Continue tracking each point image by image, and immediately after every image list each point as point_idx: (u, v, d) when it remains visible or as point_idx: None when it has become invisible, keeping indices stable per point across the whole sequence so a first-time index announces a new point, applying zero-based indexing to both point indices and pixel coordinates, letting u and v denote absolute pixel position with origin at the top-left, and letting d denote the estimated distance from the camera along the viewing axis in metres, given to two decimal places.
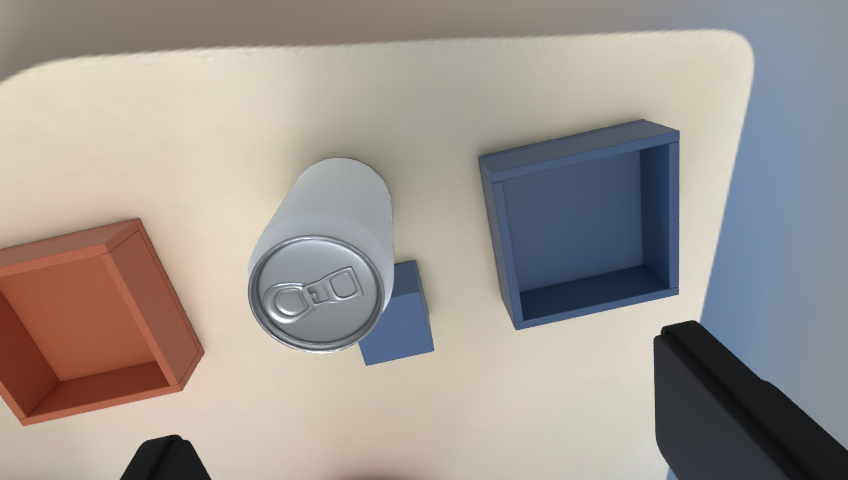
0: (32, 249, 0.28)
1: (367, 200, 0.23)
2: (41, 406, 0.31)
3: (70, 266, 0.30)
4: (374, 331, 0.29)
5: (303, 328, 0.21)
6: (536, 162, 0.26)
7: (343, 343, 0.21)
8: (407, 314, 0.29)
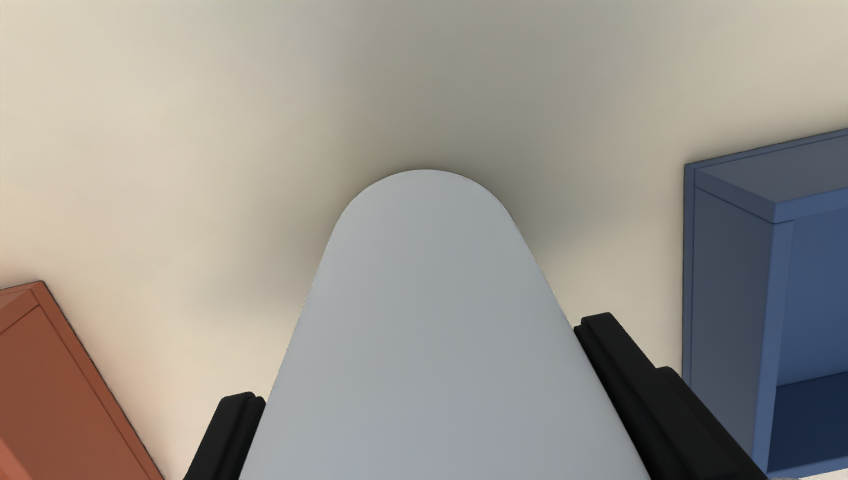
0: None
1: (540, 296, 0.09)
2: None
3: None
4: None
5: None
6: None
7: None
8: None
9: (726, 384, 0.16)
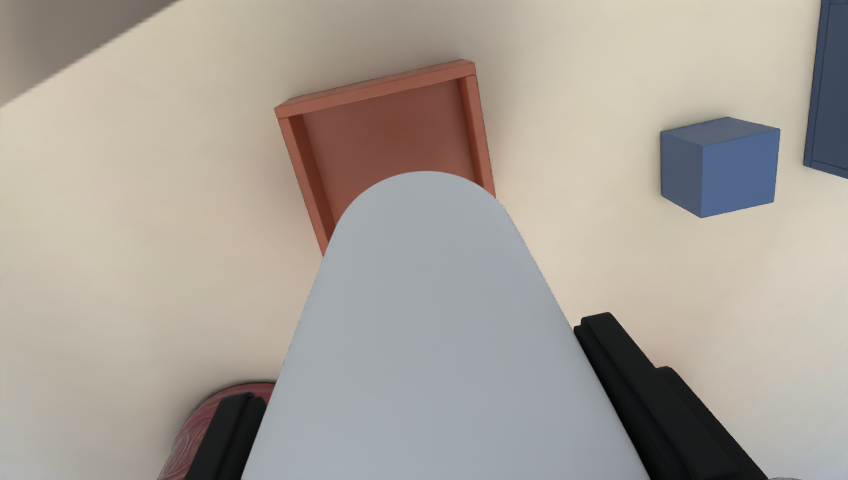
0: (368, 83, 0.27)
1: (541, 298, 0.09)
2: None
3: (386, 112, 0.29)
4: (722, 176, 0.28)
5: None
6: None
7: None
8: (761, 156, 0.27)
9: (844, 121, 0.29)
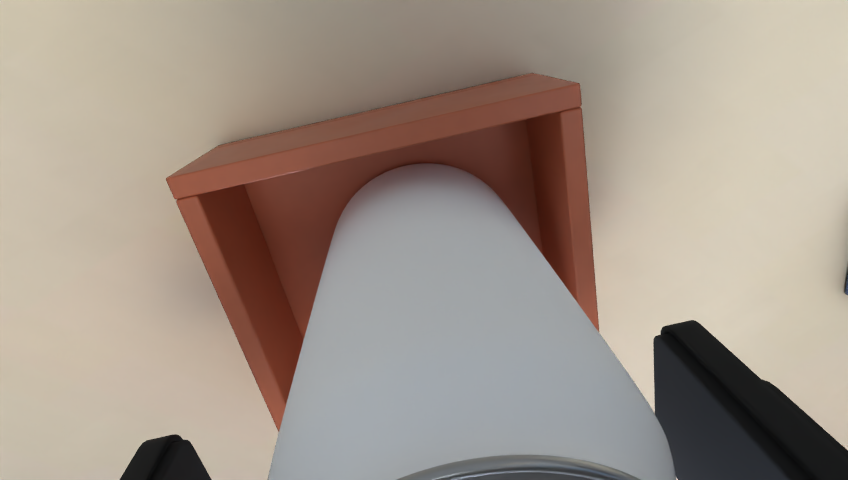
0: (361, 120, 0.14)
1: (546, 269, 0.10)
2: None
3: (394, 168, 0.16)
4: None
5: None
6: None
7: None
8: None
9: None
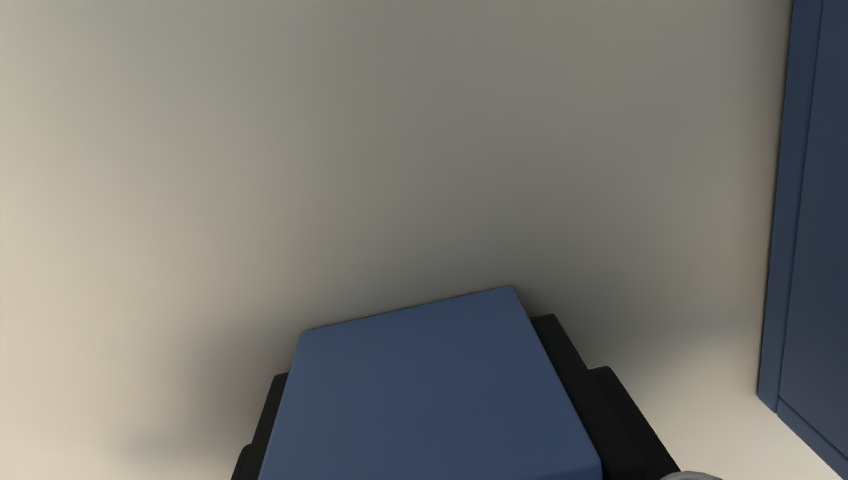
0: None
1: None
2: None
3: None
4: None
5: None
6: None
7: None
8: None
9: None
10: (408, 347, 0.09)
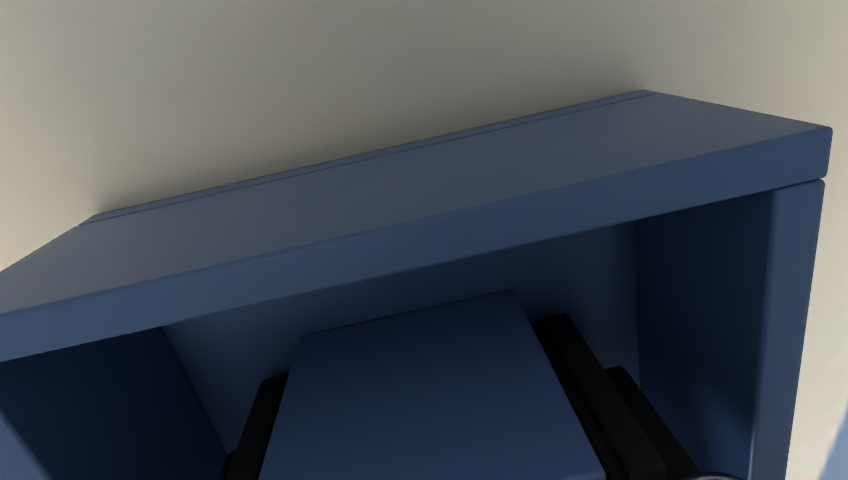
0: None
1: None
2: None
3: None
4: None
5: None
6: (117, 285, 0.05)
7: None
8: None
9: None
10: (408, 353, 0.08)
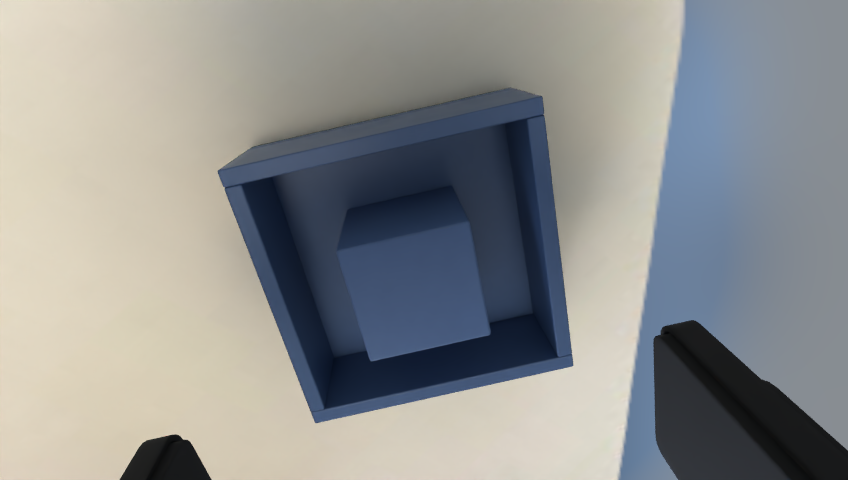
0: None
1: None
2: None
3: None
4: (386, 297, 0.16)
5: None
6: (296, 152, 0.15)
7: None
8: (446, 265, 0.16)
9: None
10: (400, 207, 0.18)
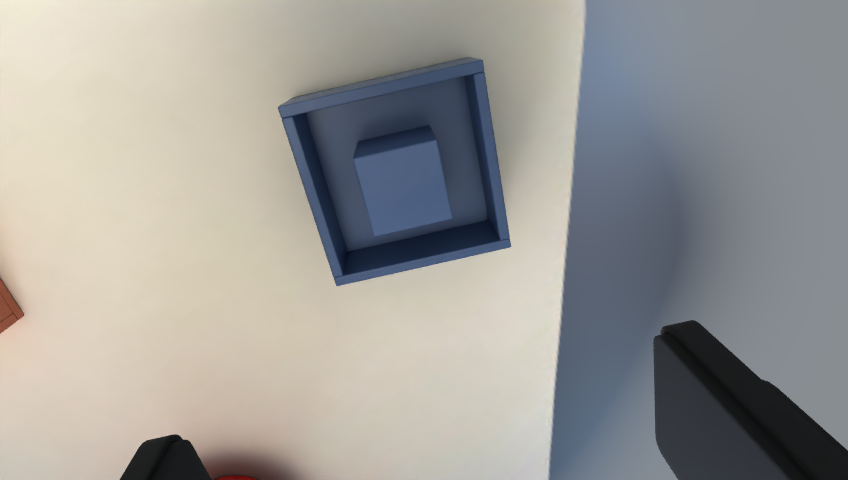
0: None
1: None
2: None
3: None
4: (384, 190, 0.25)
5: None
6: (327, 95, 0.24)
7: None
8: (422, 169, 0.25)
9: None
10: (393, 137, 0.27)
